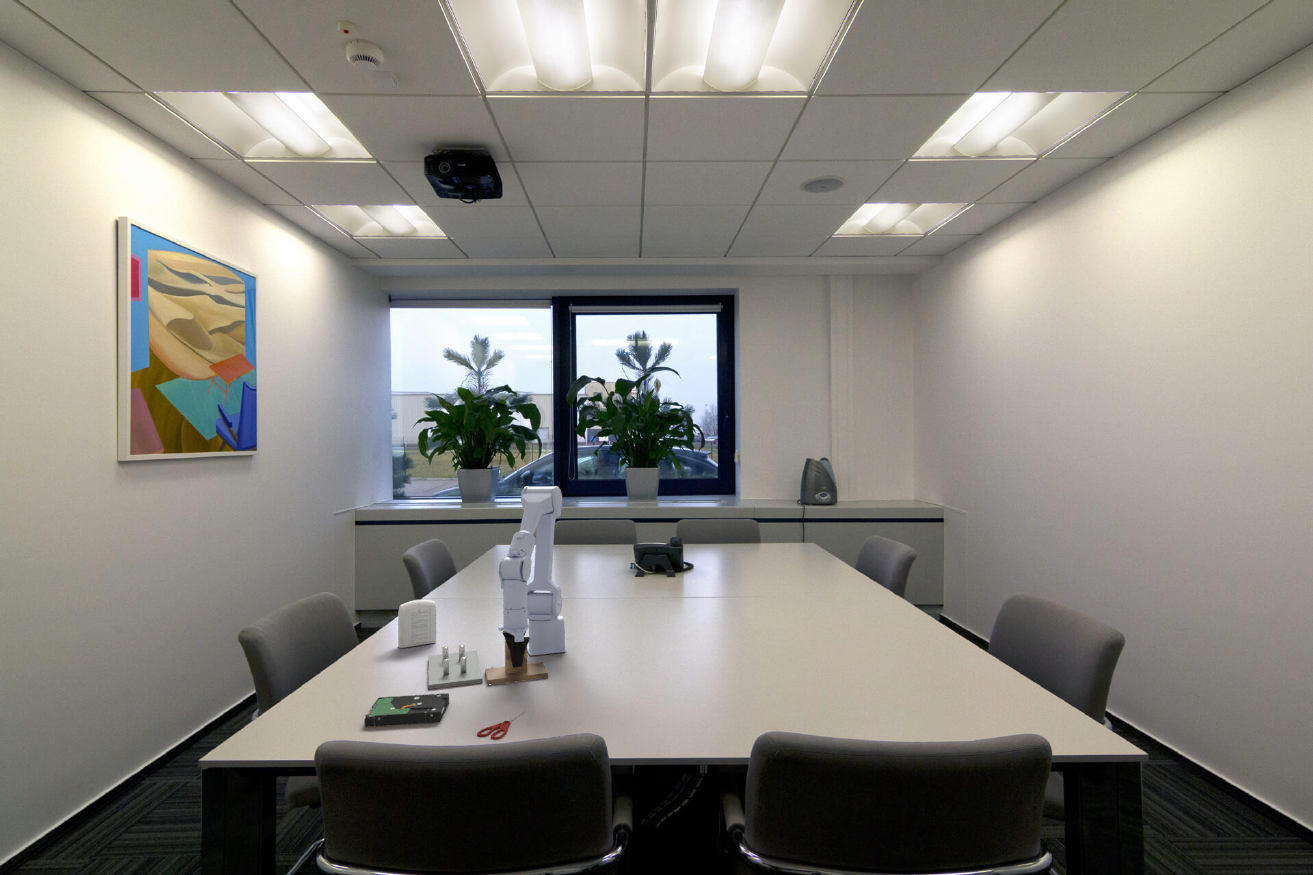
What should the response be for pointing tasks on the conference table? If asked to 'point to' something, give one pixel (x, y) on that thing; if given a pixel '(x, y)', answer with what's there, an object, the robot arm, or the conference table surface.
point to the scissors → (501, 726)
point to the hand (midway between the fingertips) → (516, 663)
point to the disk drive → (407, 710)
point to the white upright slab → (416, 623)
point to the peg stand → (454, 668)
